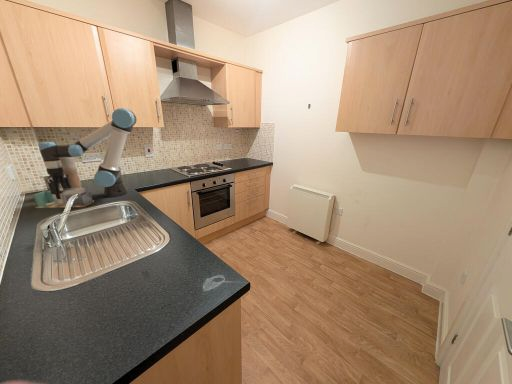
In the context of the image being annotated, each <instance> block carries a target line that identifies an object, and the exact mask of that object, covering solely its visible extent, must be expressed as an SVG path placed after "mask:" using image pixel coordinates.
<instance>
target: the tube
mask: <svg viewBox="0 0 512 384" xmlns="http://www.w3.org/2000/svg"><path fill="white" fill-rule="evenodd" d="M59 189H60V194H62V197H63V200H64V203H59V202H58V199H57V198H56V195H55V194H52V196H53V199H54V202H55V205H66V203H67V200H66V197H65V196H66V195H75V194H78V195H82V194H84V193H86V192H87V189H86V187H81V188H59Z"/></svg>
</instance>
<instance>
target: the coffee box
mask: <svg viewBox="0 0 512 384" xmlns="http://www.w3.org/2000/svg"><path fill="white" fill-rule="evenodd" d="M49 178H50V175H47V176H43V181H44V184H45V187H46V191H50V188H49V185H48V183H47V181H46V179H49ZM59 188H63V187H62V186H61V184H60V183H59Z"/></svg>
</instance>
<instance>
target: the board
mask: <svg viewBox="0 0 512 384" xmlns="http://www.w3.org/2000/svg"><path fill="white" fill-rule="evenodd" d="M94 201H95V200H93V201H92V202H93V203H95V202H94ZM92 202H90V203H88V204H86V205H84V206H72V207H71V208H86V206H89V205H91V204H93V203H92ZM34 208H35V209H48V208H49V209H51V208H53V209H54V208H55V209H57V208H66V207H65V205H55V202H49V203H46V206H44V207H37V206H35V207H34Z"/></svg>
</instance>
